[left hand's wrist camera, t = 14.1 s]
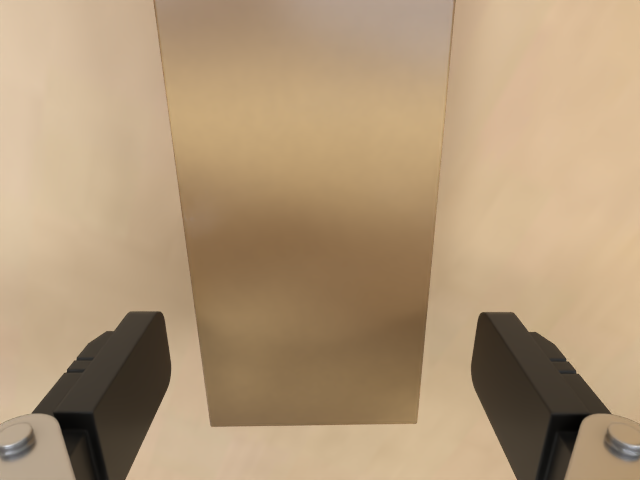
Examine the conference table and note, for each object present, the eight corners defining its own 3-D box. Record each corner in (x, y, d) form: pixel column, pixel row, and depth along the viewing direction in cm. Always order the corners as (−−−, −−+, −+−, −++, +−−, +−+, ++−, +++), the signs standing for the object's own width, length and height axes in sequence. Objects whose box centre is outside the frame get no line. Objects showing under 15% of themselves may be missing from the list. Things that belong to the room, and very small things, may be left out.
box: (377, 277, 22) (417, 424, 13) (252, 279, 22) (210, 427, 13) (400, -289, 14) (531, -819, 6) (208, -287, 14) (43, -817, 6)
